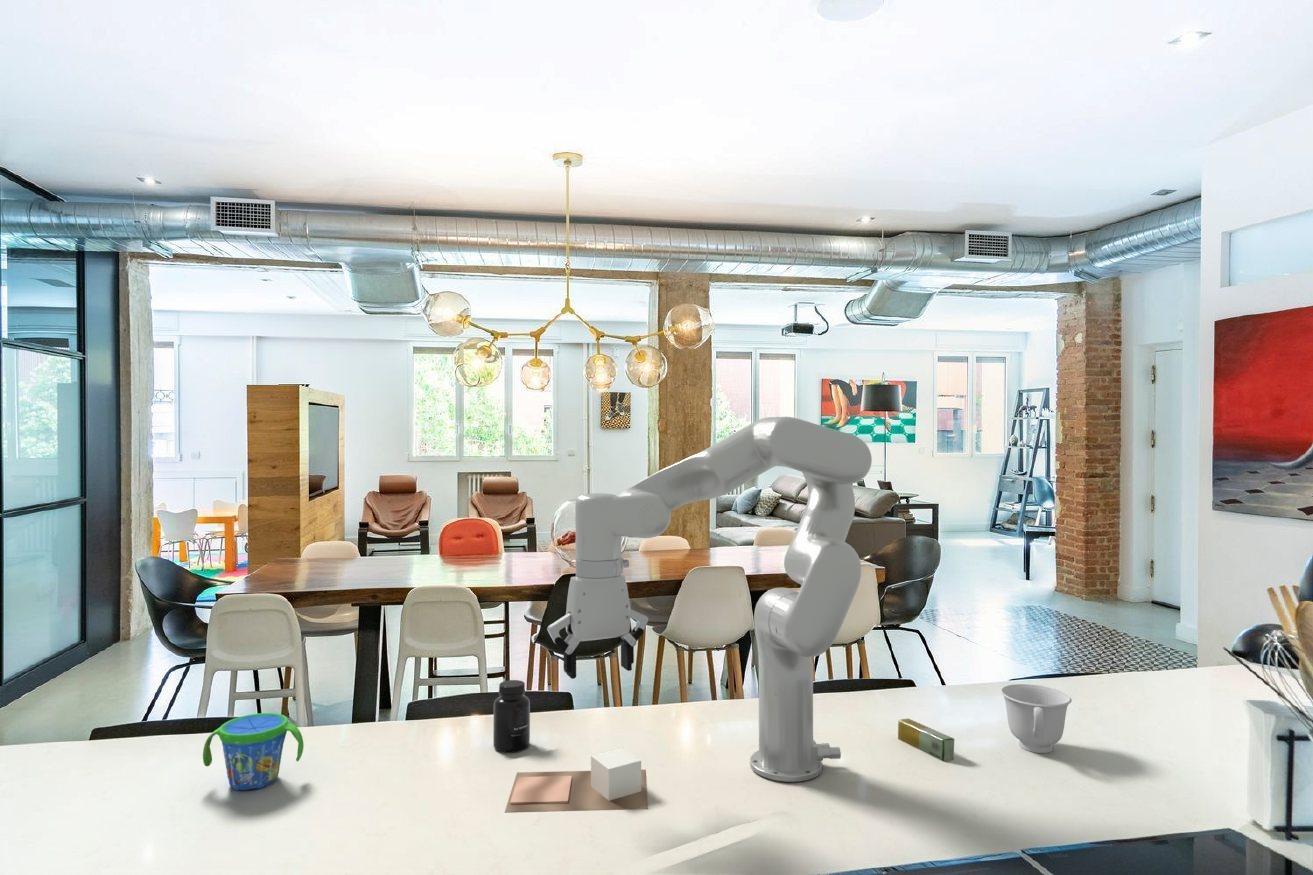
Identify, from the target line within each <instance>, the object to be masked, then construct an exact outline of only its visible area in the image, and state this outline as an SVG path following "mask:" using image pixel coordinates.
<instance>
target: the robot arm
mask: <svg viewBox="0 0 1313 875" xmlns="http://www.w3.org/2000/svg"><path fill="white" fill-rule="evenodd" d="M872 460H873V459H872V453H871V450H870V448H869V446H868V445H867V444H866V442H865V441H864V440H862V439H861V438H860V437H859V436H856V435H854V434H851V433H848V432H844V431H841V430H836V429H834V428H830V427H827V426H823V425H820V424H817V423H813V422H811V421H808V420H804V419H800V418H797V417H792V416H767V417H763V418H761V419H758V420H756V421H754V422H752V423H750V424H748V425H747V426H744V427H743V428H741V429H740V430H738V431H736V432H733V434H731V435H729V436H727V437H726V438H725V437H724V439H722V440H720V441H718V442H716V443H714V444H712V445H711V446H709V447H707V448H706V449H704V450H701V451H700V452H698V453H697V452H696V454H695V453H694V454H693V455H690V456H689V457H688V456H687V457H686V458H685V459H682V460H681V461H678V462H676V463H674V464H672V465H670V466H667V467H665V468H663V469H661V470H658V471H657V472H655V473H653V474H651V475H649V476H647V477H645V478H643V479H642V480H640V481H638V482H637V483H635V484H633V485H631V486H630V487H628V488H626V489H625V490H623V491H622V492H621V493H620V494H619V495H618V496H617V495H616V494H614V493H605V492H604V493H603V492H599V493H585V494H580V495H579V496H578V497H577V499H576V501H575V506H574V507H575V508H574V510H575V511H574V513H575V517H574V518H575V520H574V521H575V526H574V527H575V576H571V577H570V581H569V585H568V590H567V599H566V610H565V615H564V616H562V617H560V618H559V619H557V620H555V621H554V622H553V623H551V624H549V625H548V626H547V628H546V630H547V632H548V634H549V636H550V638H551V639H552V642H553V643H554V644H555V645H556V646H558V647H559V648H560V649H561V650H562V652H563V672H564V673H565V674H566V675H567V676H568V677H569V678H570V679H571V680H573V679H576V678H577V655H576V653H575V650H576V649H577V647H578V646H579V643H581V642H587V641H588V642H589V641H597V640H603V639H604V640H605V639H606V640H607V639H612V638H621V639H622V640H623V641H622V642H621V643H620V666H621V667H622V668H623V669H625V670H626V671H628V672H631V671H632V669H633V668H632V667H633V664H634V662H635V661H634V660H635V654H634V647H635V646H636V645H637V644H638V643H637V642H638V641H639V639H640V638H641V637H642V636H643V634H644V630H645V629H646V626H647V624H648V622H649V617H648V616H646V615H644V614H642V613H640V612H637V611H635V610H633V609H631V607H630V605H631V604H630V597H629V590H628V584H627V579H626V576H625V575H623V570H624V569H626V568H629V567H630V561H629V559H624V558H623V557H622V537H626V538H627V537H630V538H637V539H652V538H655V537H658V536H660V535H661V534H663V533H665V532H666V530H667V529H668V527H669V526H670V523H671V522H672V521H671V520H672V511H674V510H676V509H678V508H680V507H683V506H685V505H687V504H691V503H694V502H699V501H706V500H713V499H716V498H720V497H722V496H726V495H728V494H729V493H731V492H733V491H735V490H736V489H738V488H740V487H742V486H743V485H744V484H746V483H748V482H749V481H752V480H753V479H755V478H756V477H758V476H760V475H762V474H763V473H765V472H767V471H769V470H770V469H772V468H774V467H782V468H788V469H791V470H795V471H797V472H801V473H802V475H803V477H804V479H805V482H806V486H807V492H808V494H807V495H808V496H807V503H806V505H805V509H804V511H803V515H802V517H801V519H800V522H799V524H798V526H797V527H796V531H795V532H794V535H793V537H792V539H791V541H790V544H789V546H788V548H787V551H786V553H785V556H784V560H783V565H784V566H783V567H784V570H785V573H786V575H787V576H788V577H789V578H790V579H791V580H792V581H794V582H795V583H797V584H799V585H800V588H799V591H797V590H794V589H792V588H788V587H774V588H771V589H768V590H767V591H766V592H764V593H763V594H762V595H761V596H760V597H759V599H758V601H757V602H756V604H755V608H754V612H753V613H754V614H753V622H754V631H755V637H756V638H755V639H756V645H757V655H758V656H757V657H758V750H757V751H755V752H753V754H752V755H751V756H750V758H749V761H750V762H749V764H750V767H751V768H750V769H752V771H754V772H755V774H757V775H759V776H761V777H764V778H766V779H769V780H771V781H772V780H773V781H777V782H787V783H795V782H799V783H800V782H805V781H809V780H813V779H815V778H816V777H817V776H819V775H820V774H821V773H822V771H823V760H824V759H830V760H831V759H832V760H835V759H836V760H838V759H839V760H840V759H841V758H842V757H841V754H842V752H841V747H840V746H833V747H832V746H831V745H830V743H829V742H826V743H824V742H823V743H817V742H816V741H815V740H814V666H813V658H814V657H818V656H821V655H822V654H824V653H826V651H828V650H829V649H830V647H831V646H832V645H833V644H834V642H835V640H836V638H837V637H838V635H839V632H840V630H841V628H842V626H843V623H844V621H845V620H846V616H847V614H848V613H849V609H850V607H851V605H852V603H853V601H854V598H855V595H856V592H857V591H858V588H859V584H860V582H861V577H862V565H861V564H862V562H861V559H860V557H859V554H858V553H857V551H856V550H855V548H854V547H853V546H852V545H850V544H849V543H847V542H846V539H847V536H848V534H849V531H850V528H851V525H852V523H853V520H854V516H855V511H856V501H855V493H854V489H853V484H855V483H859V482H860V481H862V480H863V479H864V478H865V477H866V476H867V474H868V473H869V472H870V470H871V466H872V463H873V461H872ZM631 619H633V620H635V621H636V623H635V626H634V627H633V628H632V629H631ZM562 629H565V632H566V633H567V636H566V638H565V639H563V638H562V637H561V635H560V631H561V630H562Z"/></svg>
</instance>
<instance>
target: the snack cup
mask: <svg viewBox="0 0 1313 875" xmlns="http://www.w3.org/2000/svg"><path fill="white" fill-rule="evenodd" d="M287 732H290V733H291V735H292V736H293V738H294V739H295V741H297V744H298V745H297V753H296V754H297V755H296V759H295V761H296V762H299V761H300V759H302V758H301V757H302V755H303V752H304V745H305V744H304V740H303V736H302V733H301V731H300V729H299V728H298V727H297V725H295V724H293V723H292V722H290V721H289V719H288V717H287V716H285V715H284V714H280V713H277V712H265V713H264V712H261V713H254V714H253V713H252V714H247V715H243V716H239V717H236V718H232V719H230V720H228V721H226V722H224V723H222V724H221V725H220V727H218V728H217V729H214V731H213V732H211V733H210V734H209V735H208V737H207V738H206V740H205V741H204V742H205V743H204V747H203V750H202V751H203V752H202V760H203V765H204V766H205V767H210V766H211V764H212V762H213V757H212V756H213V754H212V750H211V743H212V740H213V737H214V736H216V735H218V736H219V739H220V741H221V744H222V750H223V758H224V762H225V763H224V764H225V769H226V774H227V779H228V784H229V786H230V787H231V788H232V789H233V790H235V791H244V790H245V791H247V790H252V789H262V788H263V787H264V786H268V785H270V784H271V783H273V782H274V781H276V780H278V777H279V774H280V767H281V762H282V760H281V759H282V754H283V748H284V744H285V740H286V735H287Z"/></svg>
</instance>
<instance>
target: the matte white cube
mask: <svg viewBox="0 0 1313 875" xmlns="http://www.w3.org/2000/svg"><path fill="white" fill-rule="evenodd" d="M641 770H642V760H641V759H640V758H638V757H637V756H636V755H634V754H633V753H631V752H629V751H628V750H627V749H625V748H623V747H621V748H617V749H613V750H609V751H604V752H602V753H601V752H600V753H597V754H593V755H591V756H590V771H591V787H593V788H594V789H595V790H596V791H598V792H599V793H600V794H601V795H602V796H604V797H605V798H606V799H607V800H609V801H610V800H613V799H616V798H620V797H623V796H627V795H630V794H634V793H637V792H640V791H641Z"/></svg>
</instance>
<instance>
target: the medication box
mask: <svg viewBox="0 0 1313 875" xmlns="http://www.w3.org/2000/svg"><path fill="white" fill-rule="evenodd" d="M897 723H898V724H897V726H898V731H897V740H900V741H901V742H903V743H905V744H906V745H909V746H911V747H913V748H915V749H917V750H918V751H921V752H923V753H925V754H927V755H929V756H931V757H932V758H935V759H936V760H939V761H941V762H943V763H944V762H949V761H950V762H951V761H953V760H954V759H955V758H954V756H955V738H954V737H952V736H950V735H946V734H944V733H942V732H940V731H939V730H938V731H937V730H936V729H934V728H931V727H928V726H926V725H924V724H921V723H919V722H917V721H915V720H913V719H910V718H901V719H898V722H897Z"/></svg>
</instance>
